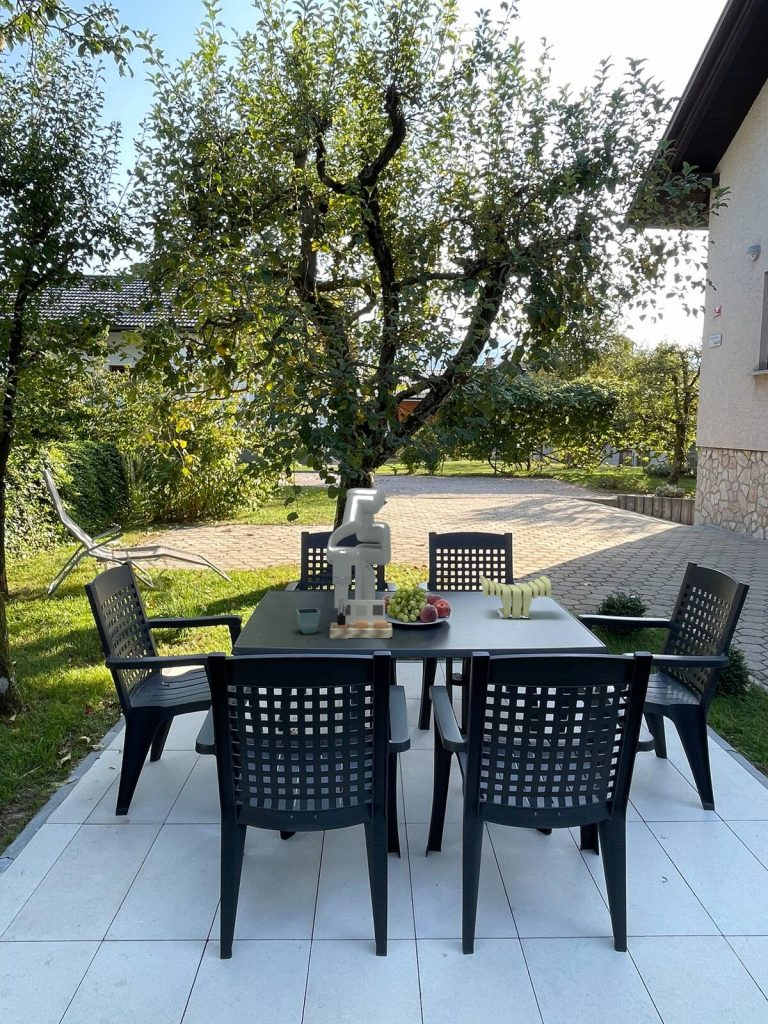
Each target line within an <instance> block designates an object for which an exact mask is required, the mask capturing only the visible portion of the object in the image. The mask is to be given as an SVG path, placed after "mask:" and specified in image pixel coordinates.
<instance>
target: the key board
mask: <svg viewBox="0 0 768 1024" xmlns="http://www.w3.org/2000/svg"><path fill="white" fill-rule="evenodd" d="M336 623H337V622H331V623H330V628H329V639H348V638H390V637H392V638H393V626H392V625H393V624H392V622H387V628H375V623H367V628H355V623H348V628H335V624H336Z"/></svg>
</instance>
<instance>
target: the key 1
mask: <svg viewBox="0 0 768 1024" xmlns="http://www.w3.org/2000/svg"><path fill="white" fill-rule="evenodd" d="M335 623H336V624H335V628H348V623H345V625H338V624H337V622H335Z"/></svg>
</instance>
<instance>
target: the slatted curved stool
mask: <svg viewBox="0 0 768 1024" xmlns="http://www.w3.org/2000/svg"><path fill="white" fill-rule="evenodd" d="M479 582H480V584H481V588H482V596H483V597H484V598H486V597H488V596H490V597H497V598H499V599H500V600H501V603H502V607H503V608H502V607H500V608H499V607H498V609H499V610H500V612H501V613H502V615H503V617H510V614H511V615H512V617H520V616H521V615H522V616H525V617H529V618H530V614H529V613H530V612H529V611H530V608H531V605H532V604H533V603H532V602H533V600H535V599H537V598H539V597H541V598H545V597H546V598H549V599H551V598H552V584H551V580H550V579H549V578H548V577H546V576H545V575H542V576H540V577H539V578H536V579H534V580H532V581H531V580H530V581H528V582H527V583H526V582H525V583H524V582H523V583H519V584H506V583H500V582H496V581H494V580H491V579H489V578H487V577H485V576H483V575H482V574H479ZM510 618H511V617H510ZM520 618H521V617H520Z"/></svg>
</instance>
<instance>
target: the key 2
mask: <svg viewBox="0 0 768 1024" xmlns="http://www.w3.org/2000/svg"><path fill="white" fill-rule="evenodd" d="M387 623H388V620H387V619H386V620H375V628H387Z"/></svg>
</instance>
